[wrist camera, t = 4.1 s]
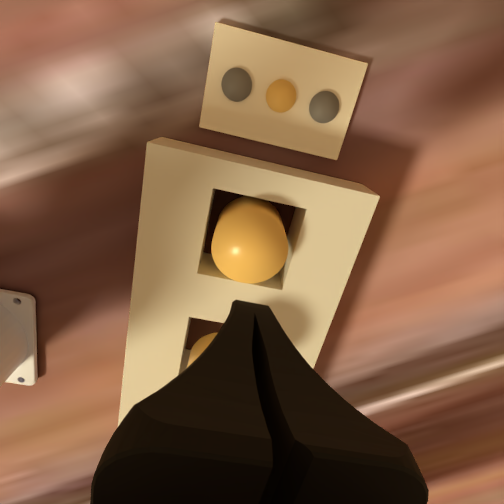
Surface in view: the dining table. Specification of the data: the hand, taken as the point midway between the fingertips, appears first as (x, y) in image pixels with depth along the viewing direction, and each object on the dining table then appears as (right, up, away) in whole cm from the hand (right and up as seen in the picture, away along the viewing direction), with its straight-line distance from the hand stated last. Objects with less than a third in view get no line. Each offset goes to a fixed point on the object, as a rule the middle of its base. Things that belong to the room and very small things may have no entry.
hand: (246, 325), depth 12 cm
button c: (0, +4, +8) cm, 9 cm away
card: (+2, +11, +6) cm, 13 cm away
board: (-2, -3, +12) cm, 12 cm away
